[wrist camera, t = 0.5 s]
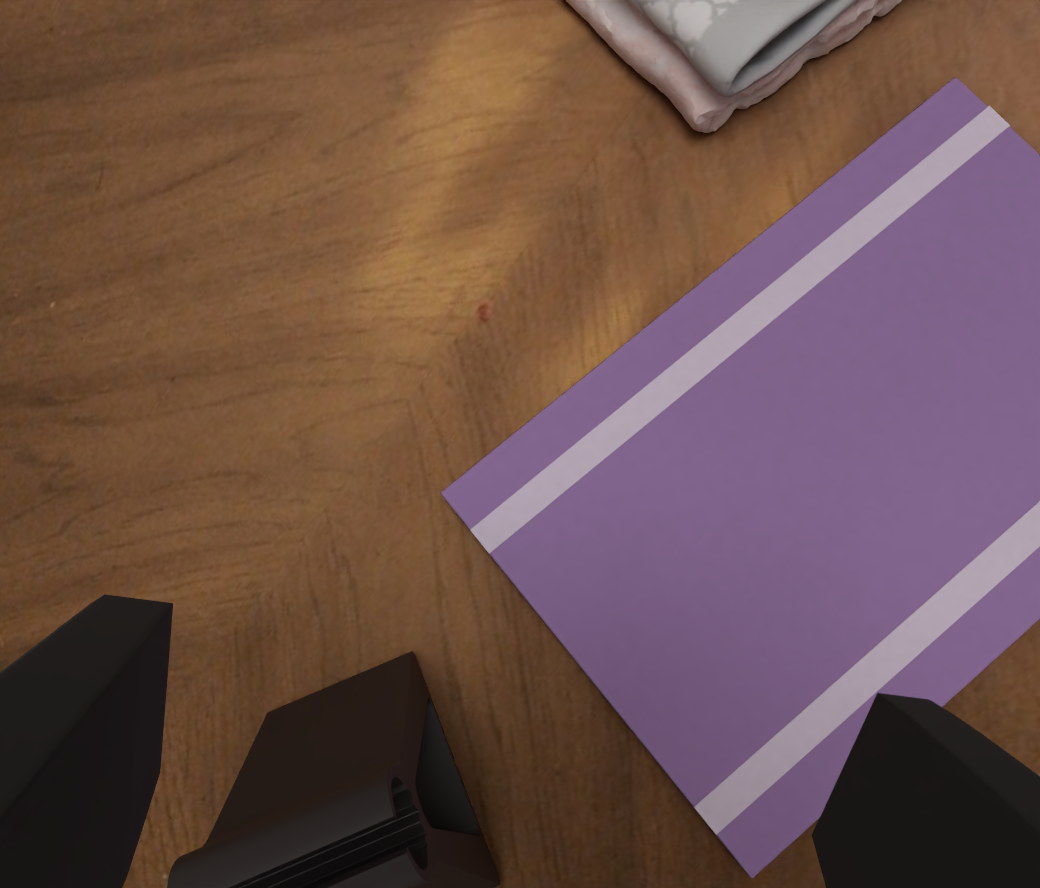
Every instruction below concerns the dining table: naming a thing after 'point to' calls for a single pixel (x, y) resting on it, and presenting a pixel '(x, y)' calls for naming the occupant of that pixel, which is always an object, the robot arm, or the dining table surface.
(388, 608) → the dining table surface
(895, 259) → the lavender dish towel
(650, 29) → the towel
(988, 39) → the dining table surface
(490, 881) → the phone stand
